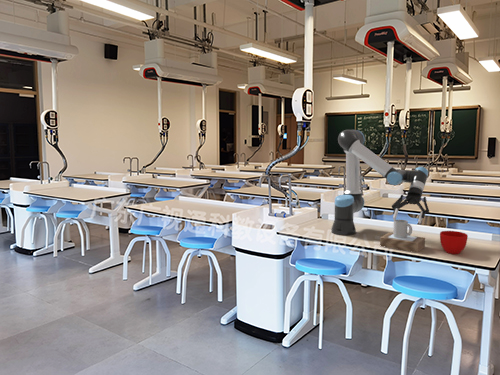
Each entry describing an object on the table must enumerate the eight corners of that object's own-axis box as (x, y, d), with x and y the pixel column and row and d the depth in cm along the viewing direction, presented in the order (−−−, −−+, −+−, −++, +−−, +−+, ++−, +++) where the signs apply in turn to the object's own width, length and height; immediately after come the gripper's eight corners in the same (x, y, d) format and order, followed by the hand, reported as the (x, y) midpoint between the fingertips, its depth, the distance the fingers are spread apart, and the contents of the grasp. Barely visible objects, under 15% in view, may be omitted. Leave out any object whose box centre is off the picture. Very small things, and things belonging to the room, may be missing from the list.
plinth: (379, 246, 221) (380, 237, 221) (388, 240, 232) (388, 231, 232) (417, 252, 209) (418, 242, 209) (424, 246, 220) (425, 237, 220)
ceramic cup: (455, 246, 220) (456, 229, 218) (471, 256, 203) (472, 237, 202) (431, 246, 220) (432, 229, 219) (445, 256, 203) (446, 237, 202)
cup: (395, 234, 226) (396, 219, 225) (413, 237, 220) (414, 221, 219) (391, 237, 221) (391, 221, 219) (409, 239, 214) (410, 223, 213)
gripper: (440, 196, 224) (431, 227, 215) (395, 192, 240) (385, 221, 230) (438, 188, 219) (429, 219, 210) (392, 184, 235) (382, 213, 225)
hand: (406, 220), depth 220 cm, fingers open, 13 cm apart
